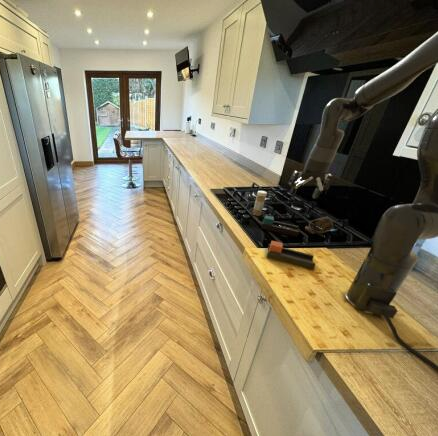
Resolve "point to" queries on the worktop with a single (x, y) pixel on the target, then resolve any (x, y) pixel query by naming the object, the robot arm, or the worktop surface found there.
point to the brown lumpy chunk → (320, 225)
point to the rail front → (292, 257)
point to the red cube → (276, 247)
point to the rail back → (281, 228)
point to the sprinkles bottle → (259, 202)
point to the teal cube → (268, 220)
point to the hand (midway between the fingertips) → (302, 197)
